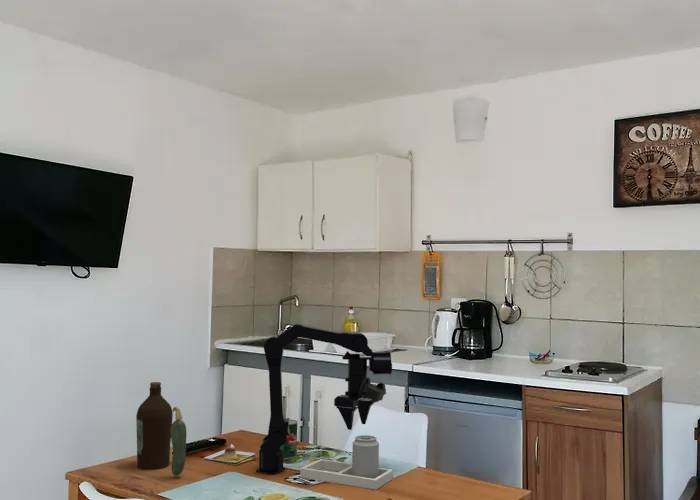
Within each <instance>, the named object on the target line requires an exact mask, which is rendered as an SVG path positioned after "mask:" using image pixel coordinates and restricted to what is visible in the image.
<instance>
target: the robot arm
mask: <svg viewBox="0 0 700 500" xmlns="http://www.w3.org/2000/svg"><path fill="white" fill-rule="evenodd" d="M298 338H302V339H308V340H312V341H319V342H323V343H328V344H332V345H337V346H340V347H342V348H343V349H346V351H345V353H344V354H343V355H342V356H341V358H342V360H347V377H345V378H344V379H345V382H347V391H346V390H345V392H344V394H340V395H337V396H336V397H335V398H334V399H333V400H334V401H333V402H334V403H333V406H334V407H336V409H337V410H338V411H339V413H340V415H341V417H342V419H343V422H344V424H345V426H346V428H347V430H348V431H349V430H350V431H352V430H353V425H354V424H353V423H354V416H355V412H356V410H358V415H359V418H360V423H361V424H362V425H365V424H366V423H367V420H368V416H369V412H370V410H371V407H372V406H373V405H374V404H375V403H378V402H380V401H383V398H384V395H386V394H387V392H386V391H387V389H386V384H385V383H383V382H379V383H377V384H373V383H371V378H370V377H368V371H369V372H372V373H371V374H372V375H388V376H389V375H392V374H393V363H392V354H391V352H390V351H382V352H380V351H379V352H377V351H376V352H375V351H374V352H373V349H372V348H370V347H369V344H368V343H369V341H368V338H367V337H366V335H365V334H364V333H362V332H359V331H335V330H330V329H327V328H326V329H324V328H319V327H315V326H309V325H305V324H302V323H300V322H299V323H298V322H297V323H294V324H293V325H292V326H291V327H290V328H288V329H286V330H285V331H283V332H282V333H280V334H278V335H272V336H269V337H268V338H267V339H266V341H265V342H264V343H263V351H264V355H265V360H266V363H267V366H268V367H267V368H268V380H269V381H268V382H269V384H268V385H269V401H270V402H269V404H270V405H269V406H270V407H269V408H270V410H269V411H270V418H269V423H268V430H267V431H268V432H267V435H265V437H263V439H262V440H261V442H260V446H259V450H258V451H259V453H258V456H259V457H258V468H257V469H255V472H257V473H262V474H268V475H276V474H278V473H280V472H283V471H285V470H286V468H285V467H284V459H283V458H284V456H283V455H282V450H281V449H280V447H281V446H282V445H284V444H285V443H286V441H287V436H289V434H290V429H289V419H290V417H287V418H285V415H284V404H283V403H284V399H283V381H282V379H283V377H282V363H283V356H284V348H285V347H287V346H288V345H289V344H291V343H292V342H294V341H296V340H297V339H298ZM348 350H350V351H352V352H354V353H350V352H349V351H348ZM360 353H362V354H364V356H361V355H360Z"/></svg>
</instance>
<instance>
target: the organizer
mask: <svg viewBox="0 0 700 500" xmlns="http://www.w3.org/2000/svg"><path fill="white" fill-rule="evenodd" d="M322 469H323V470H322ZM325 470H329V471H325ZM332 471H335V472H332ZM299 477H300V478H304V479H308V478H309V479H310V480H316V481H322V482H327V483H332V484H333V483H334V484H338V485H345V486H351V487H357V488H363V489H368V490H370V489H371V490H377V489H379V488H381V487H383V486H384V485H386V484H387V483H389V482H391V481H392V480H394V469H391V468H384V467H379V476H378V477H376V478H375V479H371V478H365V477H359V476H352V463H351V462H350V463H349V462H343V461H337V460H331V459H324V458H320V459H318V460H316V461H313V462H311V463H310V464H307V465H304V466H302V467H300V474H299Z"/></svg>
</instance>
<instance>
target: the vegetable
mask: <svg viewBox="0 0 700 500" xmlns="http://www.w3.org/2000/svg"><path fill="white" fill-rule="evenodd" d="M172 412H173V413H174V412H175V414H174V415H175V416H174V417H175V420H174V421H172V425H171V447H172V460H171V461H172V462H171V474H172V475H173V477H174V478H178V477H179V476H180V475H181V474H182V472H184V469H185V463H186V453H187V426H186V423H185V422H184V421H183V415H182V412H181V409H180V408H178V407H177V406H174V407H173V408H172Z"/></svg>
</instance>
